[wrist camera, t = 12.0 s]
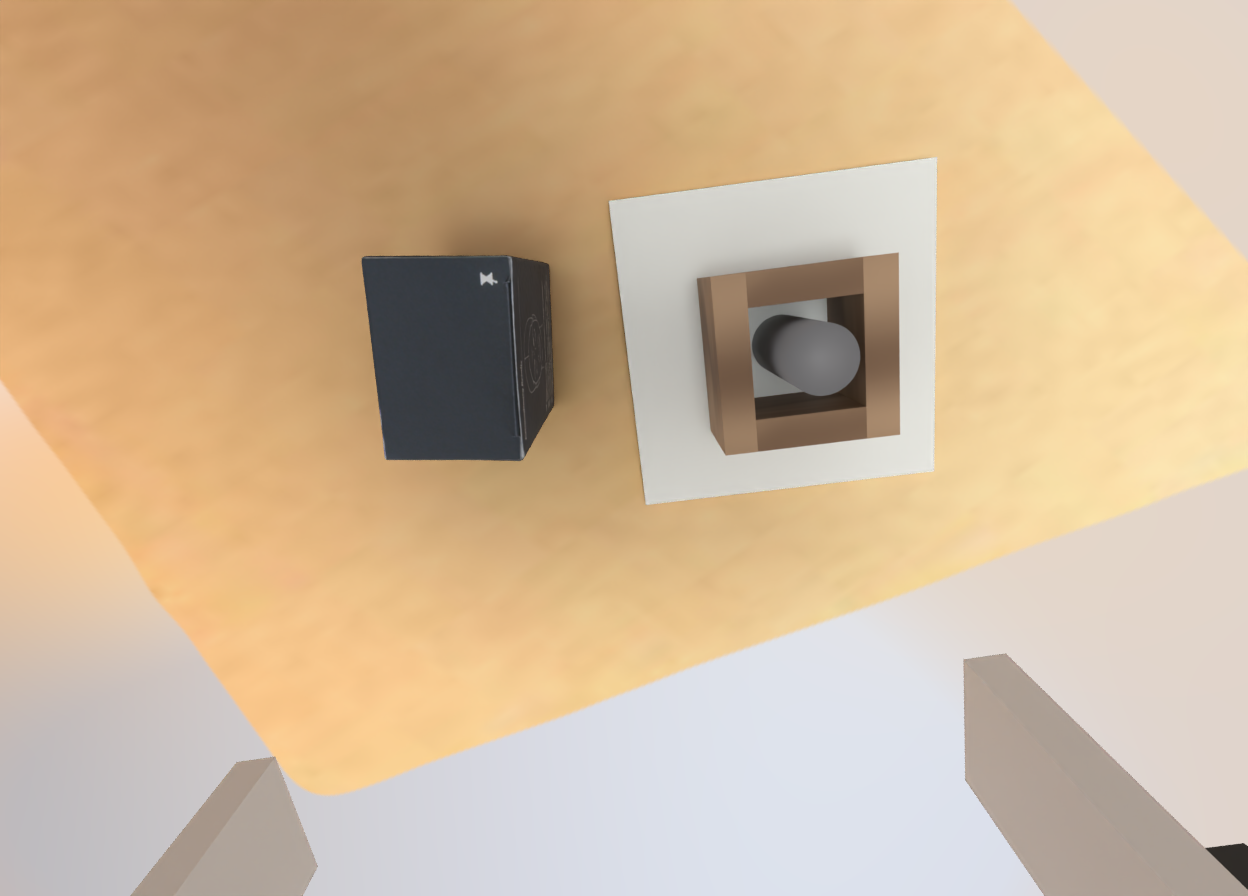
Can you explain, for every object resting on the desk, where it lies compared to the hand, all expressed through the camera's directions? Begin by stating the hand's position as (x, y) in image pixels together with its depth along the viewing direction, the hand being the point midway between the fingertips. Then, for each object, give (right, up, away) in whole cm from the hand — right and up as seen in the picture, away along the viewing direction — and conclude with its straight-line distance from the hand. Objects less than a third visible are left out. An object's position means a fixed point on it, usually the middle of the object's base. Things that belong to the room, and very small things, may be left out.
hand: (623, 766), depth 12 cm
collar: (+8, +11, +20) cm, 24 cm away
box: (-7, +12, +21) cm, 25 cm away
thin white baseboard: (+8, +12, +21) cm, 26 cm away
